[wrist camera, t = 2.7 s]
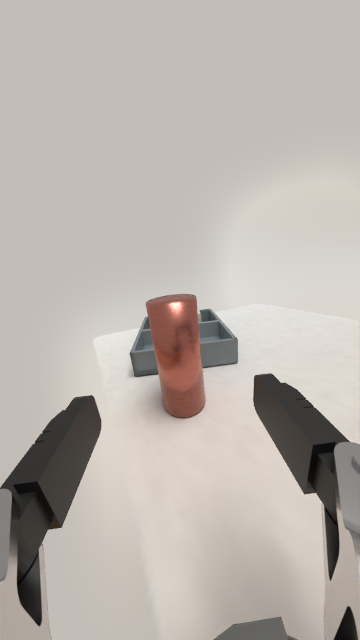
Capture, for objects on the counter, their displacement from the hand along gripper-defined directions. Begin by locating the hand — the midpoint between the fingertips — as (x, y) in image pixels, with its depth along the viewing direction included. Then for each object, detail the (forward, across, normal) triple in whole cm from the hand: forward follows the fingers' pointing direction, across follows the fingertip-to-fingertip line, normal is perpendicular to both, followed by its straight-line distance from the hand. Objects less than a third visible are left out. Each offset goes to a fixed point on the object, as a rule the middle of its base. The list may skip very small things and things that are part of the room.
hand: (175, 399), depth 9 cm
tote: (+29, -1, +11) cm, 31 cm away
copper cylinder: (+12, 0, +11) cm, 17 cm away
